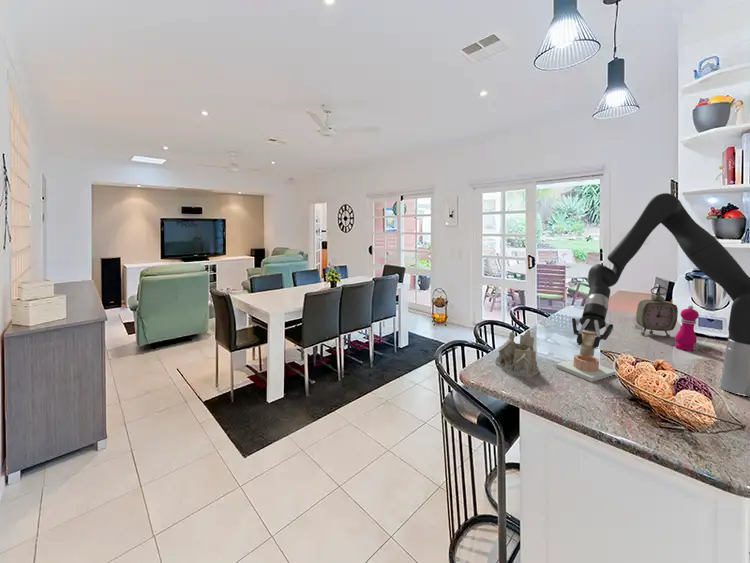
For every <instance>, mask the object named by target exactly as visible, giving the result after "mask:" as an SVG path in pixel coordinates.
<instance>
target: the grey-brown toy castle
mask: <svg viewBox="0 0 750 563" xmlns="http://www.w3.org/2000/svg"><path fill="white" fill-rule="evenodd" d="M534 339H535V337H534V336H531V330H530V329H527V330H526V331H525V332H524V333H523V334H520V335H519V343H517V342H515V332H513V331H510V332H509V337H508V339H507V341H506V342H504V344H503V345H501V346H499V349H498V356H496V358H495V365H496V366H497V367H499V368H500V369H502V370H503V371H504V372H507V373H508V374H509V375H512V376H515V377H521V378H525V379H526V378H527V379H531V378H533V377H535V376H537V375H538V374H539V366H538V362H537V357H536V356H537V351H535V350H534V343H535V342H534V341H535V340H534Z"/></svg>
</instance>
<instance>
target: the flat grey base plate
mask: <svg viewBox="0 0 750 563" xmlns="http://www.w3.org/2000/svg"><path fill="white" fill-rule="evenodd" d="M555 368H556V369H559V370H561V371H564V372H566V373H568V374H571V375H574V376H576V377H578V378H581V379H584V380H586V381H589V382H591V383H594V382H596V381H599V380H600V381H601V380H604V379H607V378H606V377H608V378H610V377H609V376H611V377H613V376H612V375H615V371H616V370H615V369H612V368H608V367H605V366H603V365H601V364H600V359H599V358H597V357H595V356H593V357H586V356H583V355H581V354H576V355H575V354H574V356H573V359H572V360H567V361H563V362H562V361H561V362H559V363H556V364H555ZM615 376H616V375H615ZM603 378H604V379H603Z"/></svg>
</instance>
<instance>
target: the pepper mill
mask: <svg viewBox="0 0 750 563" xmlns="http://www.w3.org/2000/svg"><path fill="white" fill-rule="evenodd" d="M680 317H681V320H680V322H681V327H680V329H679V330H678V332H677V333H676V335H675V336H674V340H675V341H676V343H675V346H674V347H675V348H676V349H678V350H680V351H685V352H694V351H695V346H694V345H695V344H697V341H698V340H697V335H696V333H695V324H697V323H696V322H697V319H698V318H699V312H698V310H695V309H694V306H693V305H688V306H687V308H684V309H682V310H681V311H680Z"/></svg>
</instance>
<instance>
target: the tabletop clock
mask: <svg viewBox="0 0 750 563" xmlns="http://www.w3.org/2000/svg"><path fill="white" fill-rule="evenodd" d="M655 289H664V290H665V292H664V293H661V292H660V291H658V292H657V293H655V292H653V290H655ZM650 293H651V294H653V295H654V296H652V297H651V299H643V300H640V301H639V303H638V304H637V308H636V313H635V314H636V317H635V318H636V319H635V320H636V324H637V325H639V326H640V327H642V328H643V331H642V332H640V334H641V335H642V336H645V333H646V331H647V330H649V331H648V332H649V334H650V335H653V333H654V331H658V332H659V331H660V332H665V337H666V338H670V337H671V334H670V333H668V332H669V331H670V332H671V331H673V330H674V329H675V327H676V324H677V321H678V314H679V311H678V310H679V309H678V306H677V305H676V304H674V303H673V302H669V301H667V300H665V298H664V297H663V295H666V294H668V289H667V288H666V287H664V286H654V287H652V288H651V289H650Z"/></svg>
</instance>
